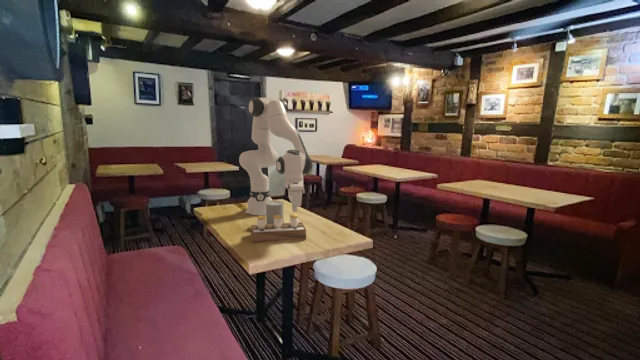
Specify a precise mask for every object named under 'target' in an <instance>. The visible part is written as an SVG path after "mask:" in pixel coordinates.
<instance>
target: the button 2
mask: <svg viewBox="0 0 640 360" xmlns="http://www.w3.org/2000/svg"><path fill="white" fill-rule="evenodd" d="M289 223H290V228H298V223H299V214H296V213H292V214H290V215H289Z"/></svg>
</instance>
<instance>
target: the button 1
mask: <svg viewBox="0 0 640 360" xmlns="http://www.w3.org/2000/svg"><path fill="white" fill-rule="evenodd" d="M256 225H257V230H260V229H266V215H256Z"/></svg>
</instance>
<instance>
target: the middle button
mask: <svg viewBox="0 0 640 360" xmlns="http://www.w3.org/2000/svg"><path fill="white" fill-rule="evenodd" d="M278 228H282V215H274V229H278Z"/></svg>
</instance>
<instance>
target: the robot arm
mask: <svg viewBox="0 0 640 360" xmlns="http://www.w3.org/2000/svg"><path fill="white" fill-rule="evenodd" d="M288 107H289V106H288V103H287V101H286V100H284V99H281V98H279V99H278V98H274V97H252V98H251V99H249V103H248V111H249V114H250V115H251V116H253V118H252V124H251V125H252V126H251V140H252V142H253V143H254V144H256V145H257V146H258V148H257V149H255V150H254V149H253V150H246V151H243V152H242V153H240V155H239V158H238V159H239V160H238V161H239V164H240V166H241V167H242V168H243V169H244V170H245V171H246V172H247V173H248V177H249V179H250V191H249V195H250V196H249V199H247V208H246V210H244V214H249V215H251V216H266V203H267V202H270V201H273V199H272V197H271V190H270V179H269V177H268V176H267V174H265V173H263V170H262V169H264V168H271V167H274V166H275V169H276V171H277V172H278V174H280V175H284V176H285V178H284V187H285V188H286V189H287V191H288V199H289V201H290V203H291V209H292V210H291V211H292V212H293V213H297V212H298V211H297V209H298V207H301V206H302V201H303V200H302V199H303V191H304V175H308V174H309V173H310V172H311V170H312V168H313V160H312V159H311V157H310V155H309V153H308V151H307V149H306V147H305V145H304V142H303V139H302V137H301V134H300V133H299V130H298V128H296V127H295V126H294V125H293V124H291V121H290V119H289V117H288V110H289V108H288ZM271 133H272V134H271ZM272 135H274V136H276V137H277V138H278V137H279V138H280V139H281V138H282V139H284V140H286V141H288V142H289V143H290V142H291V144H292V145H293V147H294V149H289V150H286V152H285V154H283V155H280V156H279V154H278V152H277V150H275V149H274V147H273V145H272V140H271V138H272V137H271V136H272Z"/></svg>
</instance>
